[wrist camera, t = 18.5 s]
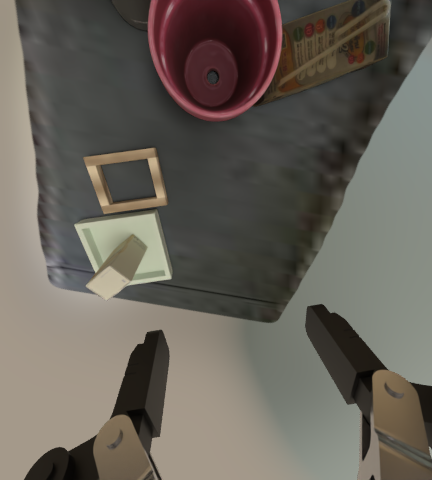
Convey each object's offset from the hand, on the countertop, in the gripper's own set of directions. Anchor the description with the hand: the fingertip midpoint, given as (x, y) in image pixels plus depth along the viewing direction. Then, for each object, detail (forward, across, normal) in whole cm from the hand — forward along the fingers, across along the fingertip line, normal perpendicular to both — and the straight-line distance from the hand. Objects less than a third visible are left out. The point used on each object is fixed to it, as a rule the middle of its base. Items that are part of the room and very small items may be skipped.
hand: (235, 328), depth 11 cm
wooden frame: (+33, +14, -5) cm, 36 cm away
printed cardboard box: (+33, -18, -19) cm, 43 cm away
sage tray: (+33, +18, +9) cm, 38 cm away
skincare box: (+32, +18, +9) cm, 38 cm away
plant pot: (+33, -3, -18) cm, 38 cm away
